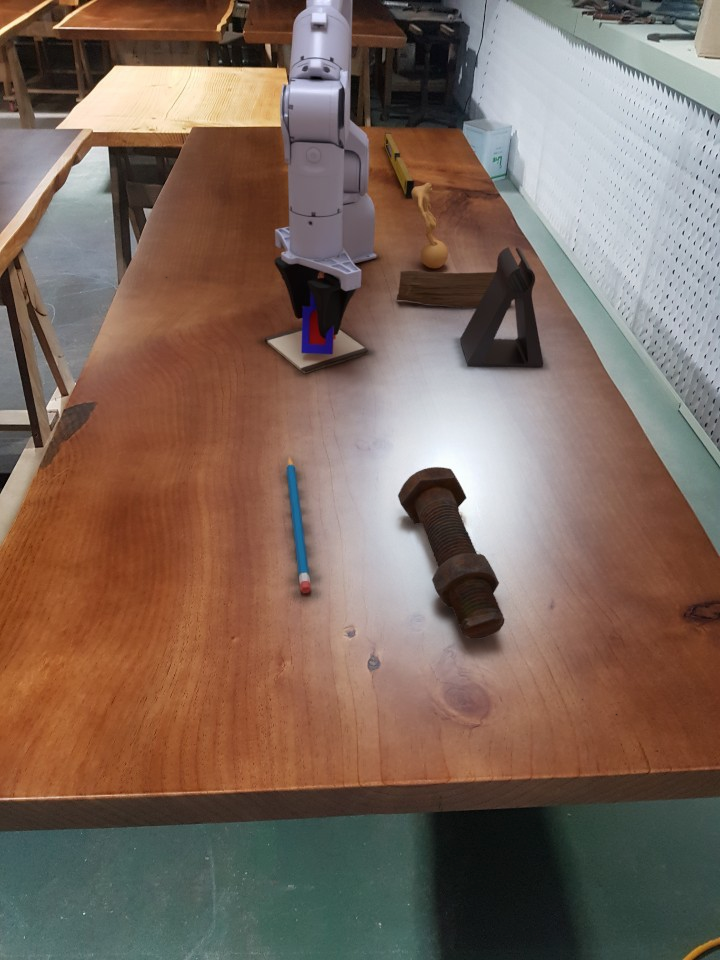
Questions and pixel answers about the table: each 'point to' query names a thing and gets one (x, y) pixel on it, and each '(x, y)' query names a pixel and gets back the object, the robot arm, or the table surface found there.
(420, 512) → the bolt
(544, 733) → the table surface
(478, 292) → the wood plank
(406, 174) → the spirit level
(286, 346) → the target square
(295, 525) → the pencil
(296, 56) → the robot arm
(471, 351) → the phone stand
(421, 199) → the figurine
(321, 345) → the toy building block
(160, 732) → the table surface
